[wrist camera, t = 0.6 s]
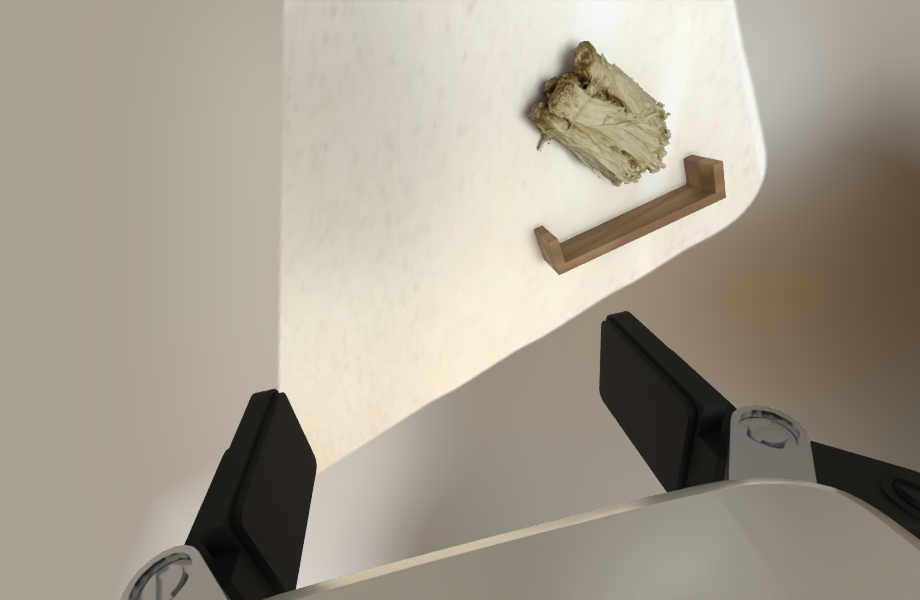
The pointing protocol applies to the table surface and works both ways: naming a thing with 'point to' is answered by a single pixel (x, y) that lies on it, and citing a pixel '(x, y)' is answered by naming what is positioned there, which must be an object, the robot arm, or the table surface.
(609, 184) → the table surface
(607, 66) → the beige fibrous lump
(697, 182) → the stand
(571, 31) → the table surface
